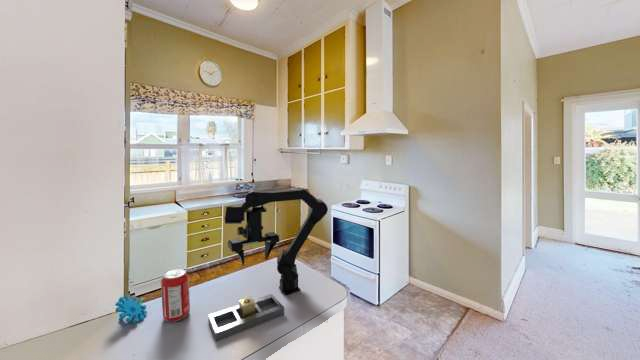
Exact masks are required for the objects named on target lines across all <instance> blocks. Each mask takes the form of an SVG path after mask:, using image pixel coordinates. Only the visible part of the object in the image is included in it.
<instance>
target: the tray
mask: <svg viewBox="0 0 640 360" xmlns="http://www.w3.org/2000/svg"><path fill="white" fill-rule="evenodd" d="M253 300H254V301H255V315H252V316H249V317H246V318H244V319H241V318H240V316H239V304H237V305H234V306H232V307H228V308H226V309H222V310H218V311H216V312H213V313H209V314H208V325H209V327H210V329H211V332H212V335H213V337H214V340H215V342H218V341H220V340H223V339H225V338H228V337H230V336H233V335H236V334H238V333H240V332H243V331H246V330H248V329H251V328H253V327H256V326H259V325H261V324H263V323H266V322H269V321H271V320H274V319H277V318H279V317H281V316H284V315H285V307H284V306H283V305H282V304H281V302H280V301H279V300H278V299H277V297H275V296H274V294H272V293H271V294H267V295H265V296H264V295H263V296H261V297H259V298H255V299H253ZM269 305H272V306H273V307H271V308H269V309H265V310H262V309H261V308H263V307H267V306H269ZM229 319H233V322H231V323H227V324H225V325H223V326H219V327H218V325H217V324H218V323H221V322H224V321H227V320H229Z"/></svg>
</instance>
